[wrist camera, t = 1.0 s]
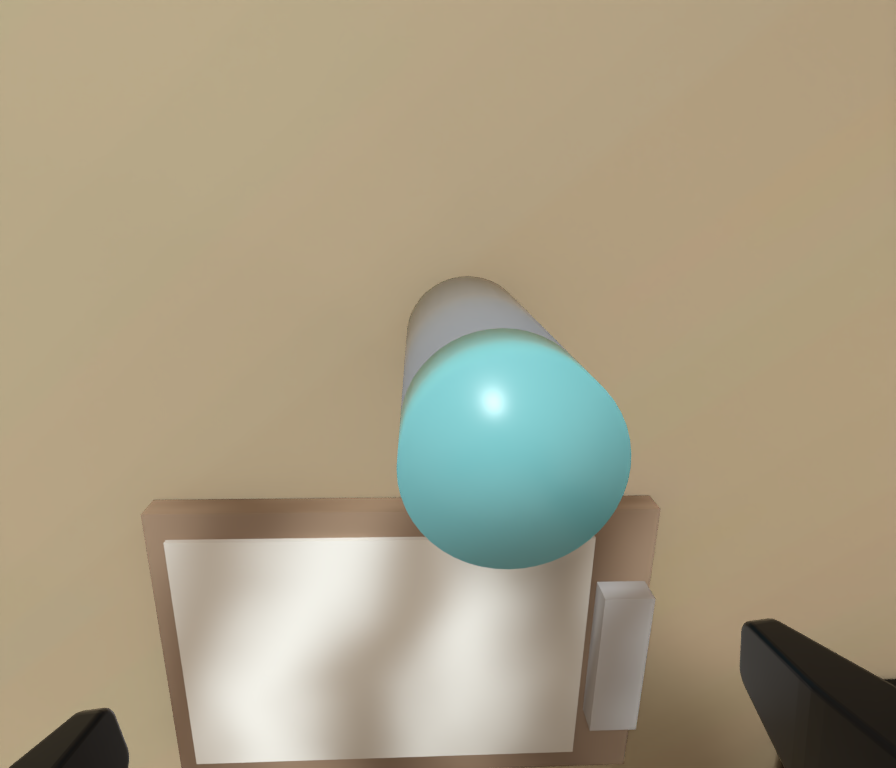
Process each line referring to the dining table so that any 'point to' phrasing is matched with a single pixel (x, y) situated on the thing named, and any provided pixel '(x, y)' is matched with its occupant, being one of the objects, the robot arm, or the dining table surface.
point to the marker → (503, 432)
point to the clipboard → (393, 639)
